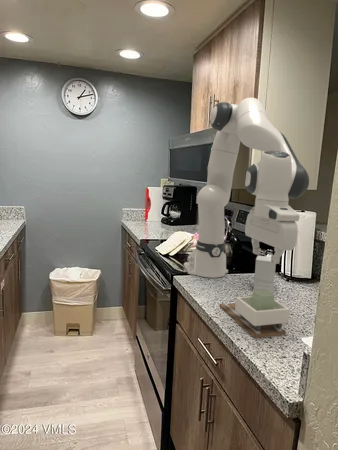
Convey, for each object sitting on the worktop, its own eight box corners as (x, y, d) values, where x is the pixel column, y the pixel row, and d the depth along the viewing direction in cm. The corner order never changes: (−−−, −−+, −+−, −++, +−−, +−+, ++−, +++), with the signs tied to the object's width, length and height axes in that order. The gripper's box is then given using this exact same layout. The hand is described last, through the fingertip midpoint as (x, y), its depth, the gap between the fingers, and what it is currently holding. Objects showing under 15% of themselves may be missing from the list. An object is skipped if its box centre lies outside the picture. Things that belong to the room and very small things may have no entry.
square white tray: (234, 316, 105) (236, 297, 104) (265, 313, 109) (267, 295, 108) (253, 332, 95) (255, 312, 94) (287, 329, 99) (289, 309, 98)
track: (219, 306, 116) (219, 302, 116) (245, 304, 119) (246, 300, 119) (254, 338, 96) (255, 333, 95) (285, 334, 99) (286, 330, 98)
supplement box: (273, 288, 138) (276, 257, 136) (272, 294, 131) (276, 261, 129) (254, 285, 140) (257, 254, 138) (252, 291, 133) (255, 259, 131)
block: (250, 310, 103) (252, 290, 102) (263, 309, 104) (265, 290, 103) (259, 316, 99) (261, 296, 98) (272, 315, 100) (274, 295, 99)
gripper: (242, 205, 106) (237, 249, 108) (282, 215, 86) (276, 269, 89) (260, 205, 107) (255, 249, 110) (304, 215, 88) (297, 268, 91)
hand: (265, 258), depth 99 cm, fingers open, 8 cm apart
